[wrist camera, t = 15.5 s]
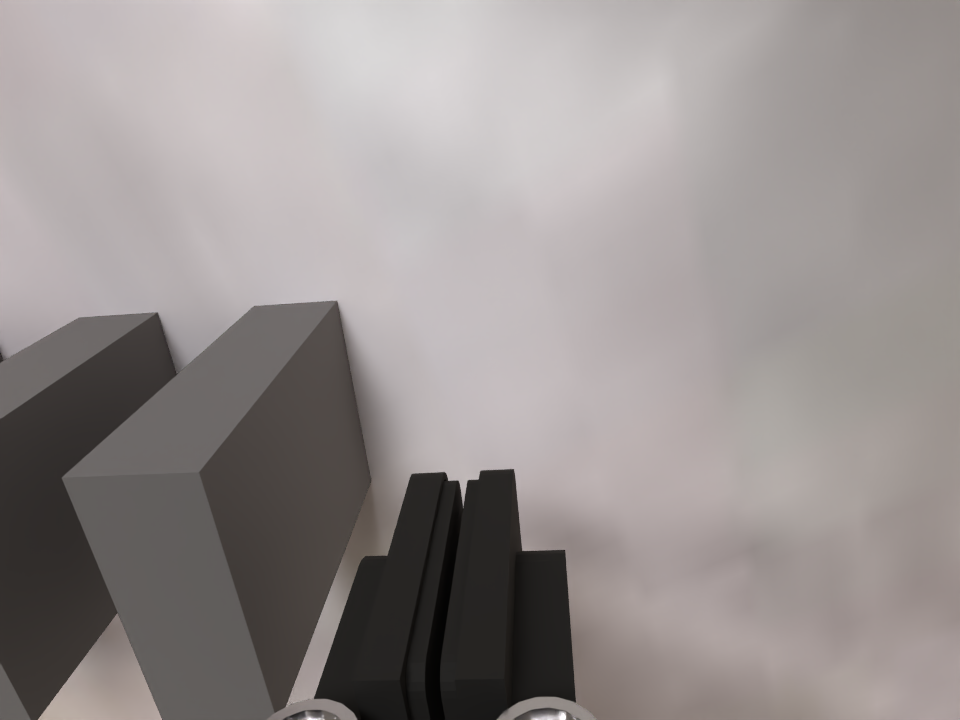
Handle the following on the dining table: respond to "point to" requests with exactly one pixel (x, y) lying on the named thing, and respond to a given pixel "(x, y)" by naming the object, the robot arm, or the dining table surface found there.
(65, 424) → the domino
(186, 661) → the domino
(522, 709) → the robot arm
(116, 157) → the dining table surface
